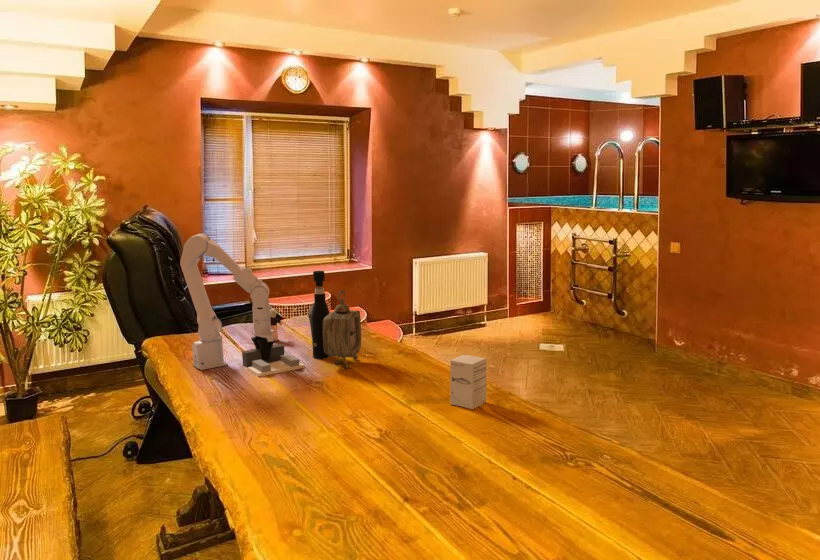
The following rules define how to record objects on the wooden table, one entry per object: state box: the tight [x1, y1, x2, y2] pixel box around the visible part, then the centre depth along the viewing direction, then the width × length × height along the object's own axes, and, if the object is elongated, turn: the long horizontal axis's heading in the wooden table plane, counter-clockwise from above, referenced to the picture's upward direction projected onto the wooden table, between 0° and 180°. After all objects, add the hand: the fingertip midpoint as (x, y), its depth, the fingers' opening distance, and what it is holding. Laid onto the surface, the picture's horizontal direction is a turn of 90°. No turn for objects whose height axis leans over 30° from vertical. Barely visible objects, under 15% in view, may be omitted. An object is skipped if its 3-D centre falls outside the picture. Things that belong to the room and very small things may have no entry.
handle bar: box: [241, 343, 285, 368], centre depth 219 cm, size 14×3×5 cm, turn 129°
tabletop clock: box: [323, 290, 362, 370], centre depth 213 cm, size 14×9×25 cm, turn 168°
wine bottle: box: [311, 270, 332, 360], centre depth 223 cm, size 6×6×30 cm
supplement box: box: [449, 354, 488, 410], centre depth 174 cm, size 7×7×13 cm
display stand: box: [246, 354, 305, 377], centre depth 211 cm, size 16×9×3 cm, turn 125°
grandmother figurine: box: [270, 308, 283, 342], centre depth 248 cm, size 8×4×13 cm, turn 143°
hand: (263, 358), depth 219 cm, fingers closed on handle bar, 3 cm apart
